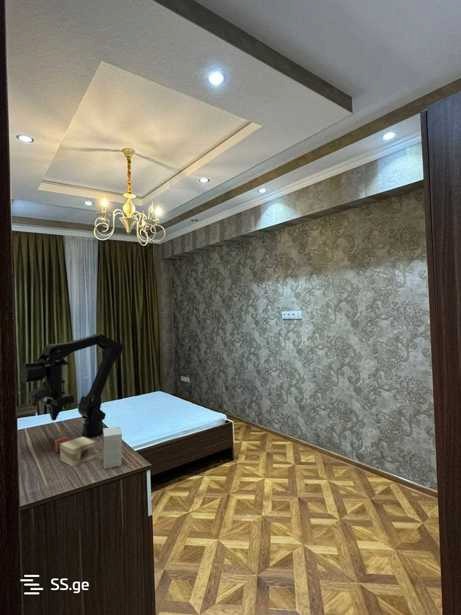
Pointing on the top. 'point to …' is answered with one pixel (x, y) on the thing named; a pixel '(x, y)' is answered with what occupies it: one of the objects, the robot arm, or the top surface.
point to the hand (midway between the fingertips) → (53, 420)
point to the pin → (62, 440)
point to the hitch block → (77, 451)
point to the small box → (112, 447)
